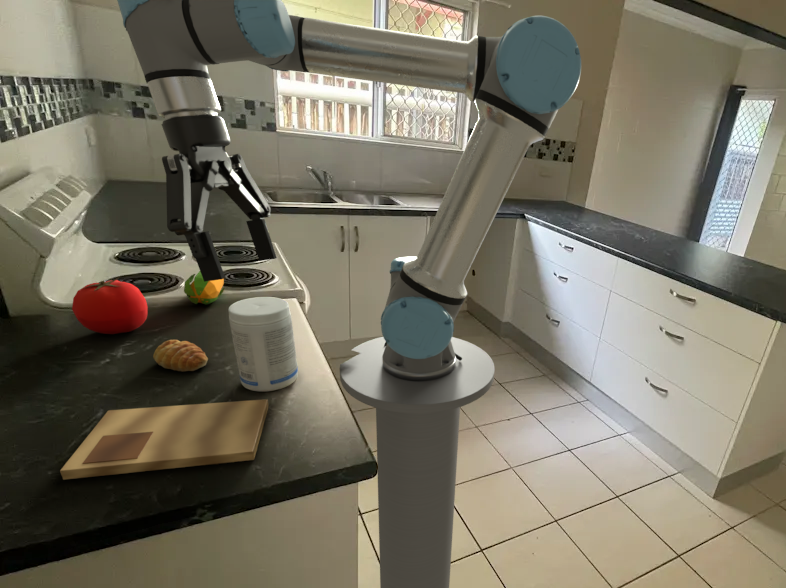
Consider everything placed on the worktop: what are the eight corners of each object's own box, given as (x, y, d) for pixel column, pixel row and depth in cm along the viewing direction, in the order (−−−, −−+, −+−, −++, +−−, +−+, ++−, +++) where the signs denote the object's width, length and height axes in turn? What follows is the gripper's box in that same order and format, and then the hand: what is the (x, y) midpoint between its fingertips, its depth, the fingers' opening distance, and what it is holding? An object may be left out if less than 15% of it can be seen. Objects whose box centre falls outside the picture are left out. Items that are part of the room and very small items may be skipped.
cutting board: (268, 406, 79) (267, 398, 78) (254, 460, 67) (252, 450, 66) (110, 418, 72) (107, 409, 72) (62, 480, 60) (59, 470, 60)
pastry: (219, 363, 90) (216, 345, 89) (185, 378, 85) (181, 359, 83) (184, 351, 93) (180, 333, 92) (149, 365, 88) (144, 346, 86)
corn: (176, 279, 107) (198, 256, 125) (179, 310, 110) (201, 283, 127) (213, 281, 110) (230, 258, 127) (216, 311, 113) (232, 285, 130)
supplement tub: (299, 366, 92) (291, 294, 86) (298, 390, 84) (290, 314, 78) (243, 370, 89) (231, 296, 83) (236, 396, 81) (223, 317, 75)
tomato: (161, 320, 105) (150, 272, 101) (140, 342, 95) (127, 289, 91) (96, 321, 102) (82, 271, 97) (68, 344, 92) (50, 289, 87)
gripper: (224, 126, 77) (265, 255, 84) (85, 115, 54) (159, 294, 61) (266, 119, 76) (305, 250, 83) (144, 104, 53) (212, 287, 60)
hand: (243, 269), depth 72 cm, fingers open, 13 cm apart
